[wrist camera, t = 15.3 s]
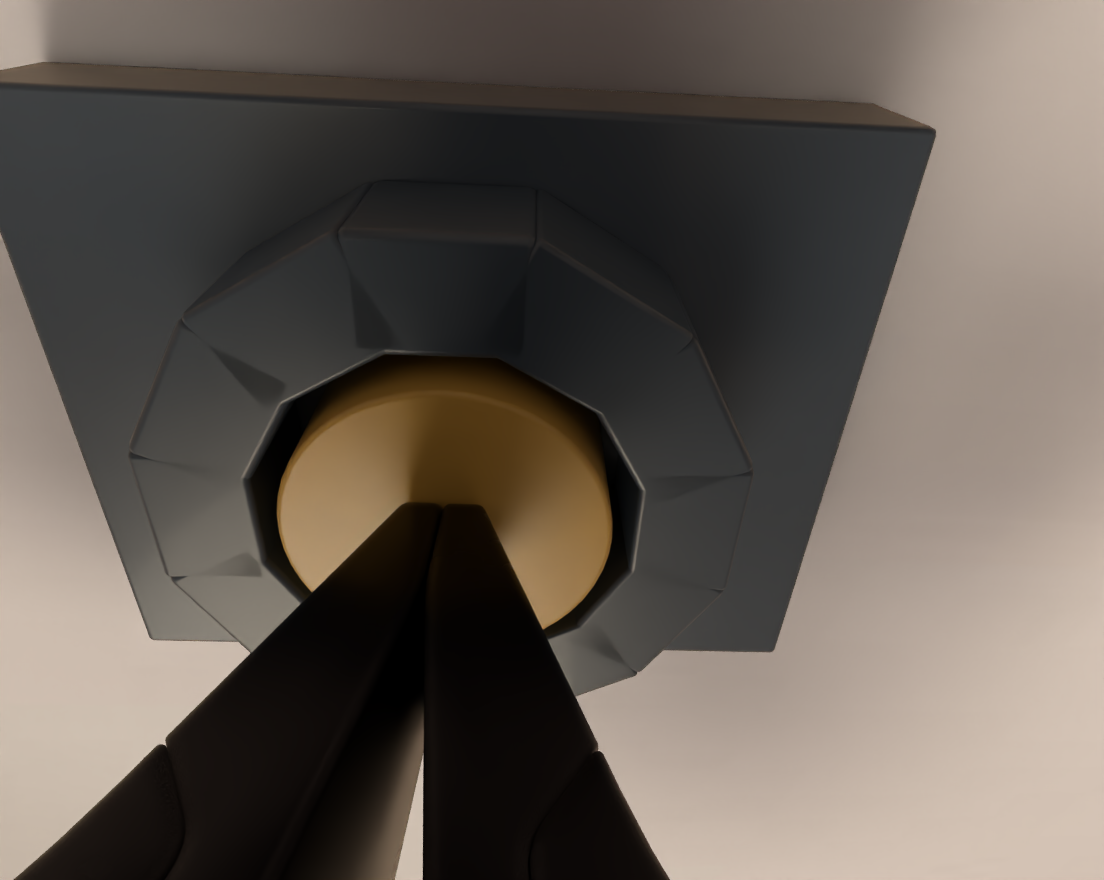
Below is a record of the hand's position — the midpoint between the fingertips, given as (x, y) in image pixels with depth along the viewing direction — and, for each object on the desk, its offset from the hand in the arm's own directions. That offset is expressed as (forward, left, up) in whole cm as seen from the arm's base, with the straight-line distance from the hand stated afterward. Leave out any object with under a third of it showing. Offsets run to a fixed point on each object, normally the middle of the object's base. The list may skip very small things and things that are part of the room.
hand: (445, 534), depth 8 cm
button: (0, 0, -2) cm, 2 cm away
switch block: (0, 0, -4) cm, 4 cm away
